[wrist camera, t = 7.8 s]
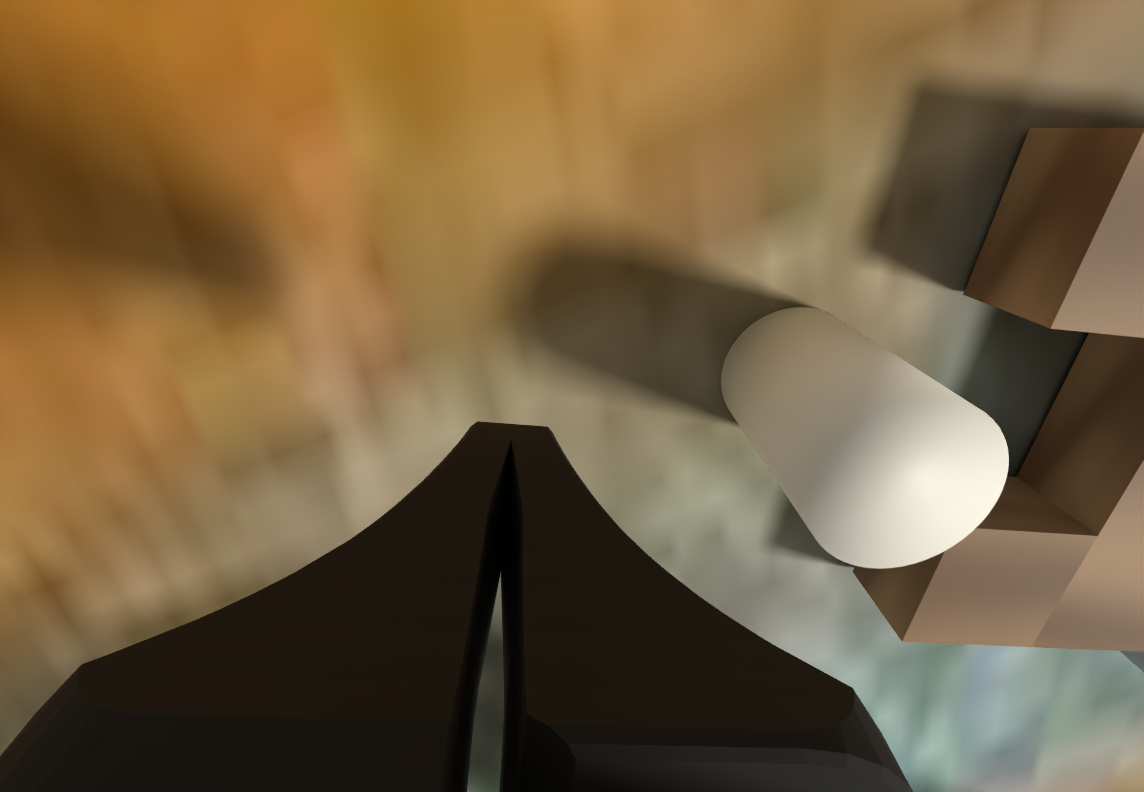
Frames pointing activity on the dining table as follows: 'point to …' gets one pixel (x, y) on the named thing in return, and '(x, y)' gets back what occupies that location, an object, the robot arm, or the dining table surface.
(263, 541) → the dining table surface
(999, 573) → the block
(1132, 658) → the wall
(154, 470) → the dining table surface
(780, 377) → the dowel
